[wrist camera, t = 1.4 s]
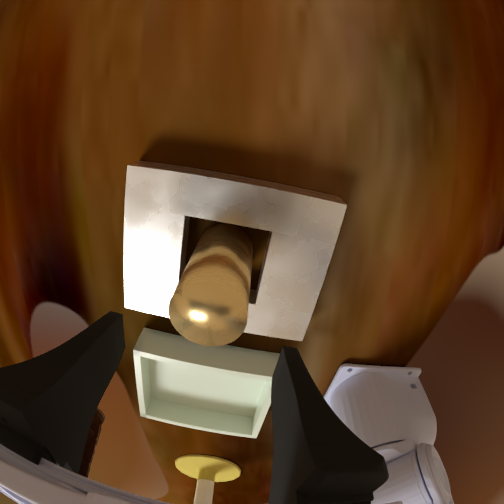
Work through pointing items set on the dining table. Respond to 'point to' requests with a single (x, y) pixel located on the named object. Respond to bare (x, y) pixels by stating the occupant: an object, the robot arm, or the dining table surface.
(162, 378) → the tray
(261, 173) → the dining table surface
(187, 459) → the candle
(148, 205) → the block
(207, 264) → the pin
